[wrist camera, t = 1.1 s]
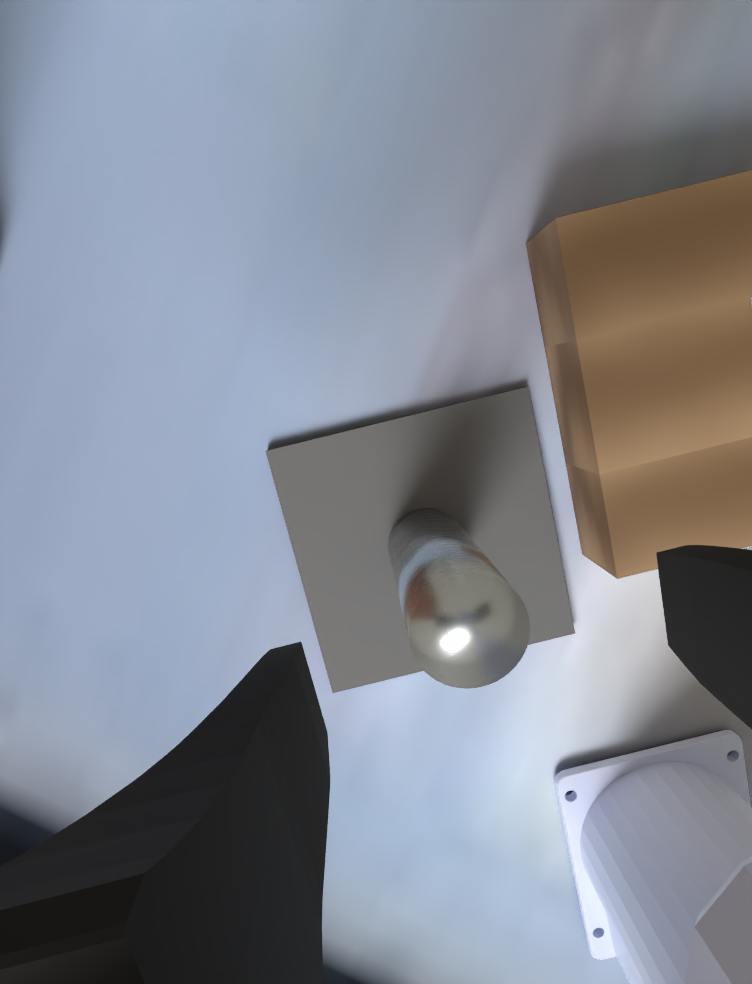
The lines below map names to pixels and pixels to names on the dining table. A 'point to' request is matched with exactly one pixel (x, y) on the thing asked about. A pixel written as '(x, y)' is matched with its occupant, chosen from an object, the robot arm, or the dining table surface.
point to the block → (653, 368)
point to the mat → (399, 490)
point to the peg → (455, 602)
